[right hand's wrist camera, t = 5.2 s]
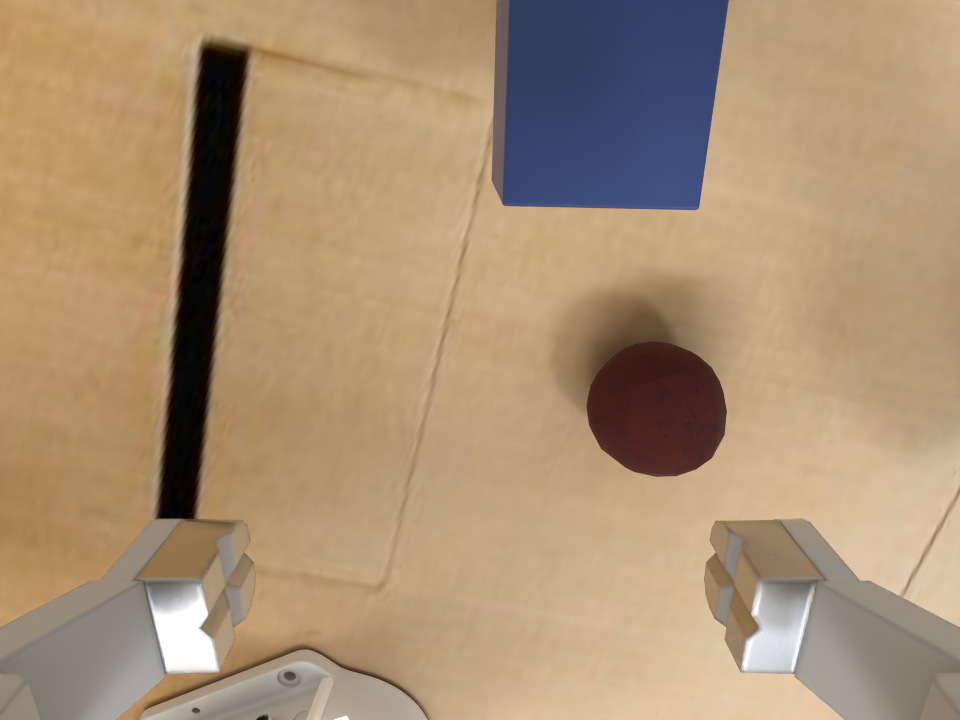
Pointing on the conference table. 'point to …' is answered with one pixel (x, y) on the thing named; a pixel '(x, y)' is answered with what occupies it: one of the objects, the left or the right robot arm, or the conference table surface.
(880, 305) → the conference table surface
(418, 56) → the conference table surface
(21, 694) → the right robot arm
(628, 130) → the bar
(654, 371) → the dark red ball
